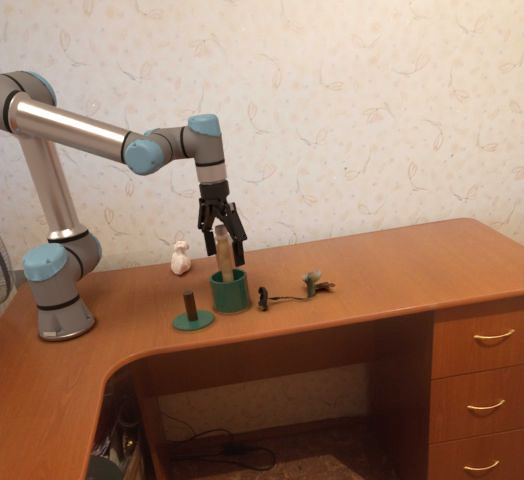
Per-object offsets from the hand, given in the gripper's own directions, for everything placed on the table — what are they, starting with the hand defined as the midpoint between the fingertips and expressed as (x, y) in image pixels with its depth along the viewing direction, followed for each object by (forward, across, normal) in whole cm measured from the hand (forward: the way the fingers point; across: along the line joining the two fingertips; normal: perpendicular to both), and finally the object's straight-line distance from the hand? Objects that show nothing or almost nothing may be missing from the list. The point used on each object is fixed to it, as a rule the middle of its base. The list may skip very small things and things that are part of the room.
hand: (225, 260), depth 145 cm
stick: (+14, 0, 0) cm, 14 cm away
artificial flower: (+14, -11, -15) cm, 23 cm away
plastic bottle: (+14, +10, -6) cm, 19 cm away
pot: (+14, 0, 0) cm, 14 cm away
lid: (+13, 0, +13) cm, 19 cm away
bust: (+14, +37, -5) cm, 40 cm away
